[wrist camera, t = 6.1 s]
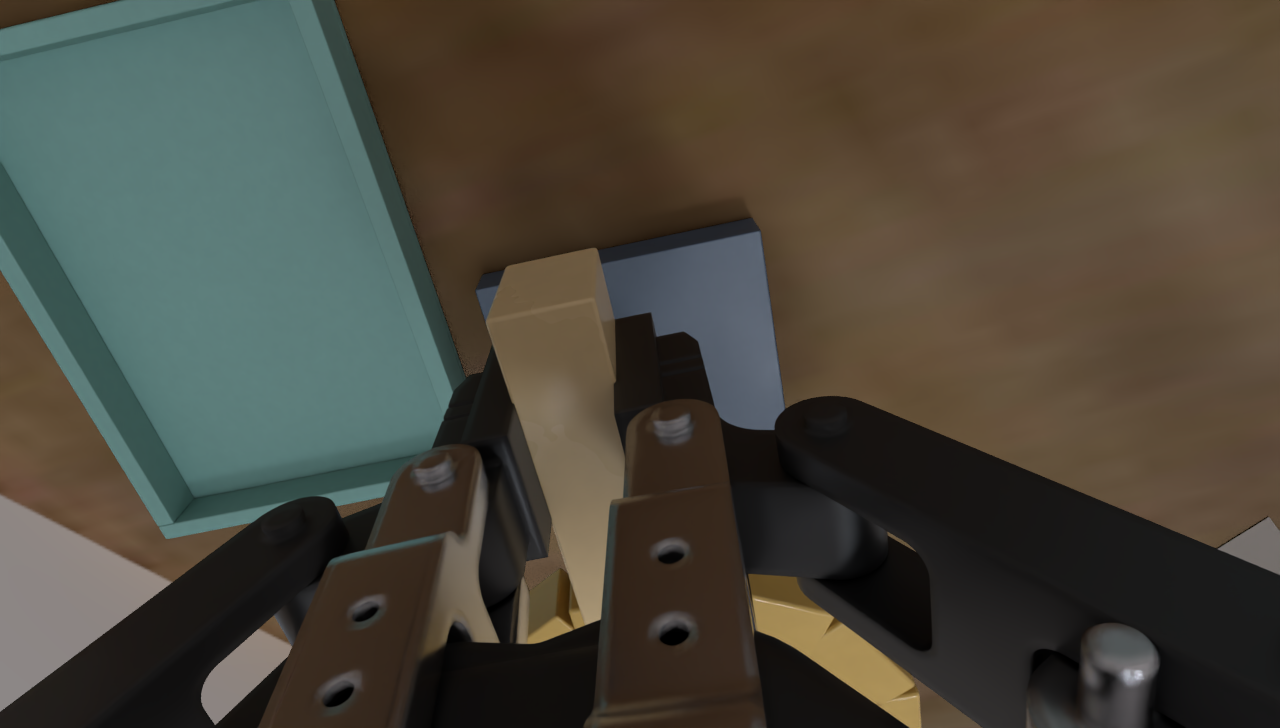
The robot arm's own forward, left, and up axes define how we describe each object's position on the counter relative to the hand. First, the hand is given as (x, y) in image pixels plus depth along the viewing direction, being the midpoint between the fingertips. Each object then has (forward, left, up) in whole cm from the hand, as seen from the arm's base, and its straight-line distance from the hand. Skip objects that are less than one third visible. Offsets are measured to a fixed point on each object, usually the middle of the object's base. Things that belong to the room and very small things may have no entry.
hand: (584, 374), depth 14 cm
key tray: (+1, -16, -19) cm, 25 cm away
